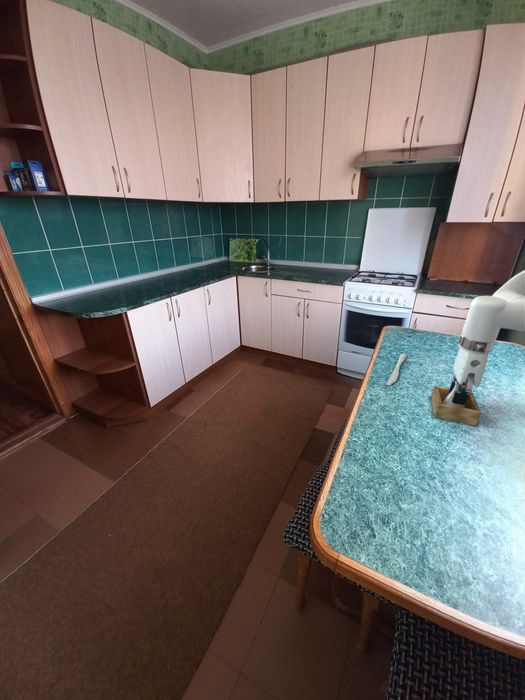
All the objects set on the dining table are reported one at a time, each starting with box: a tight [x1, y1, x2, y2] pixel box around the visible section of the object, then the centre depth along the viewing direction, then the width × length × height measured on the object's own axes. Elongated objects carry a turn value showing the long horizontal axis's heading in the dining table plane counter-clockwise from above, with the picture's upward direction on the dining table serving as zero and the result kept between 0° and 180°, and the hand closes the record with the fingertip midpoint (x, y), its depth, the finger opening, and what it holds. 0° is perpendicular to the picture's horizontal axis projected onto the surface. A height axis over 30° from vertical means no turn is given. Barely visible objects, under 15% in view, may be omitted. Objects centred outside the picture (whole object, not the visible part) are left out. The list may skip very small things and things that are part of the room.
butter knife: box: [385, 353, 407, 386], centre depth 109 cm, size 1×27×3 cm
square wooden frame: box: [430, 385, 482, 426], centre depth 87 cm, size 10×10×4 cm
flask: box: [441, 381, 466, 408], centre depth 86 cm, size 7×7×10 cm
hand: (456, 397), depth 86 cm, fingers open, 4 cm apart
